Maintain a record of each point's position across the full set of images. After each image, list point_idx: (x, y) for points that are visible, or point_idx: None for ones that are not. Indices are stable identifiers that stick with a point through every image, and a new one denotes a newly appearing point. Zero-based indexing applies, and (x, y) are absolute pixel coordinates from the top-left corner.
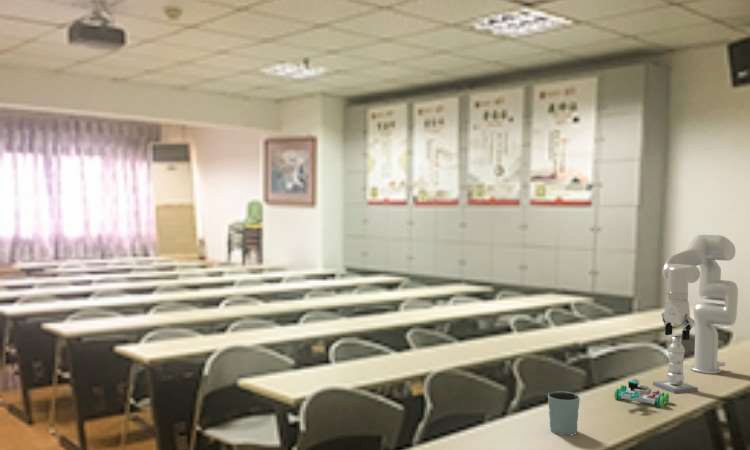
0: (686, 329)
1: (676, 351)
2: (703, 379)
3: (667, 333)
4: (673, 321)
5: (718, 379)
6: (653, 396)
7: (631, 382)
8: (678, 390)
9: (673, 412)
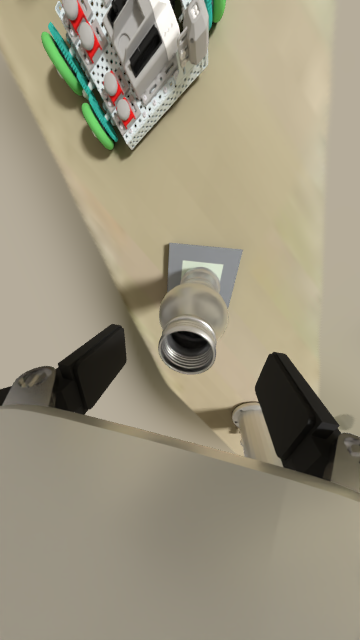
0: (27, 380)
1: (169, 291)
2: (220, 375)
3: (270, 365)
4: (96, 484)
5: (209, 391)
6: (72, 25)
7: None
8: (169, 256)
9: (30, 75)
